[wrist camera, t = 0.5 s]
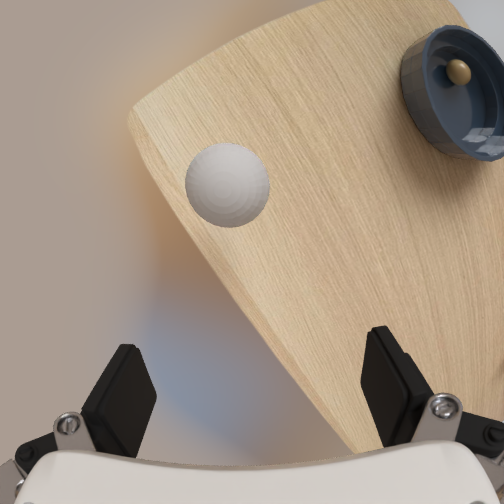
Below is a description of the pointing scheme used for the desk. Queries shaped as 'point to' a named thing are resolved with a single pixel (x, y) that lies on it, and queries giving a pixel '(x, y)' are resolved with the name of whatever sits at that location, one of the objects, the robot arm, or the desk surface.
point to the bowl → (456, 94)
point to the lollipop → (227, 185)
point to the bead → (458, 72)
